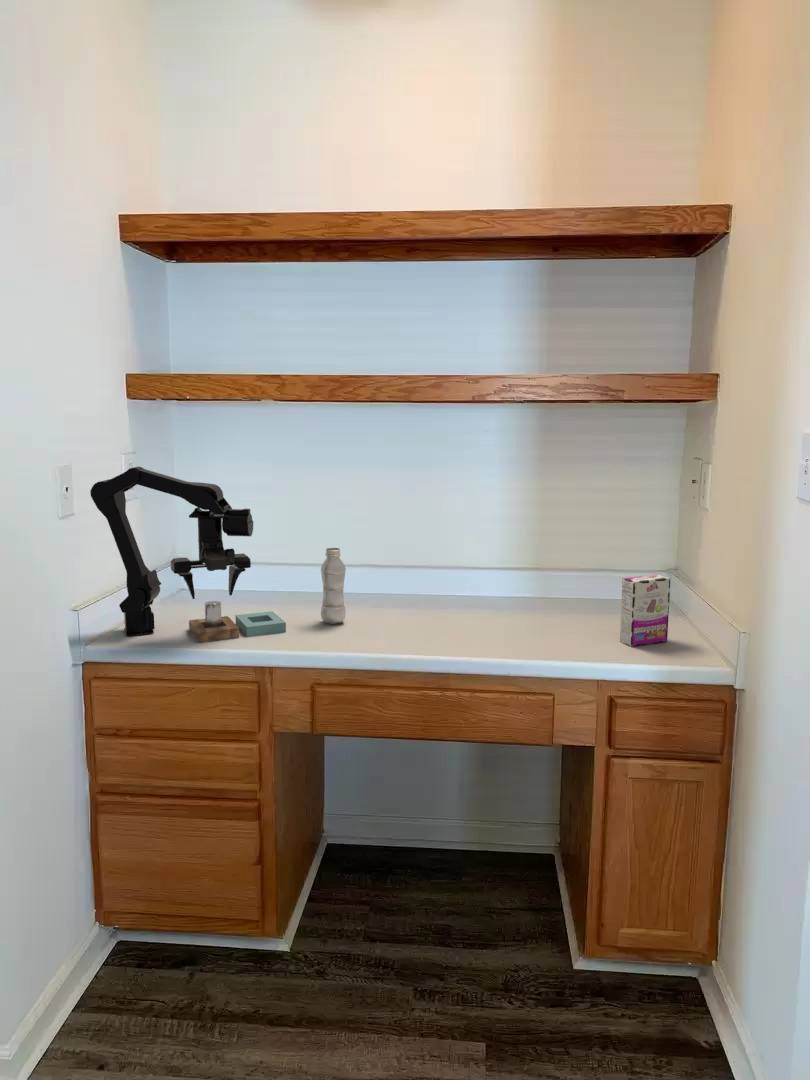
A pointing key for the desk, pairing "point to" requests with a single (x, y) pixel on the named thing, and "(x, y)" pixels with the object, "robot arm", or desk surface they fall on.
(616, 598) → the desk surface
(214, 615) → the steel peg
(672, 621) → the desk surface
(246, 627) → the block
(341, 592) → the plastic bottle
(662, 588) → the candy bar box
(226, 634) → the socket block
